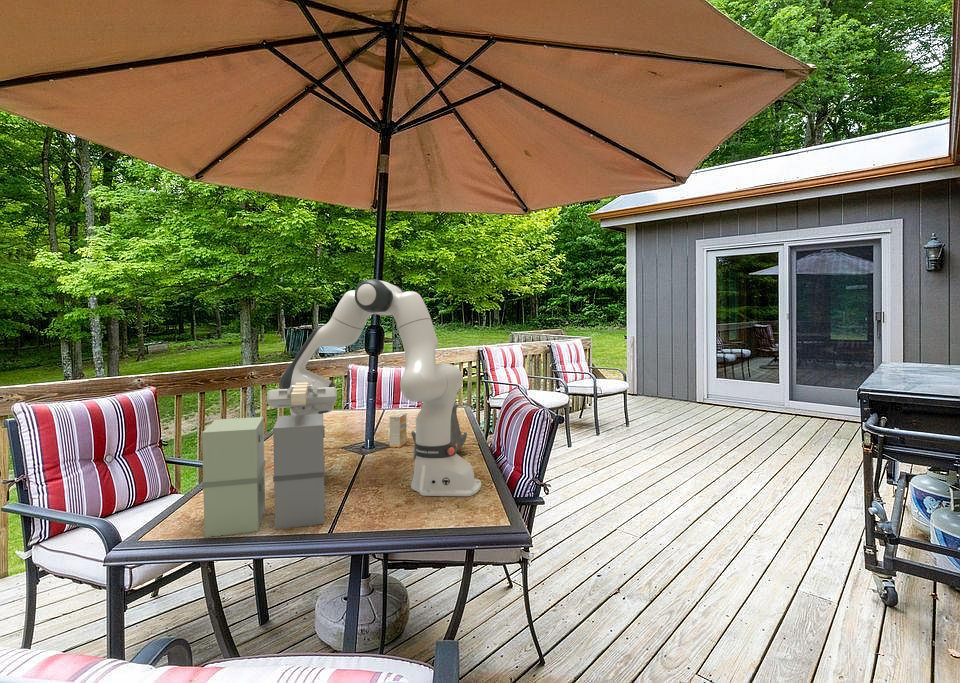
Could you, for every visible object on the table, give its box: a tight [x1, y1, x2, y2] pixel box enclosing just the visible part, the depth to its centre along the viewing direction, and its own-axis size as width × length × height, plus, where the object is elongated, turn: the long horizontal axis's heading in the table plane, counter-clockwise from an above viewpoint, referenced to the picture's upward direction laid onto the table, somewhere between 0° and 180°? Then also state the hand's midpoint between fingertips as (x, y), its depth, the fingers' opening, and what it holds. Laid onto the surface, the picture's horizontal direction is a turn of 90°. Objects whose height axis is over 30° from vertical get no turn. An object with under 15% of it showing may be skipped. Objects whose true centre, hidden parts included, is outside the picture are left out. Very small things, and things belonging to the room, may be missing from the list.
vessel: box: [410, 401, 468, 453], centre depth 197 cm, size 22×22×20 cm
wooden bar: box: [291, 382, 308, 406], centre depth 139 cm, size 23×4×3 cm, turn 17°
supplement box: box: [389, 412, 407, 449], centre depth 208 cm, size 8×5×13 cm, turn 168°
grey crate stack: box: [272, 413, 326, 530], centre depth 135 cm, size 16×13×26 cm
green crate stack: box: [201, 416, 266, 538], centre depth 130 cm, size 16×13×26 cm
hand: (301, 387), depth 146 cm, fingers closed on wooden bar, 3 cm apart
